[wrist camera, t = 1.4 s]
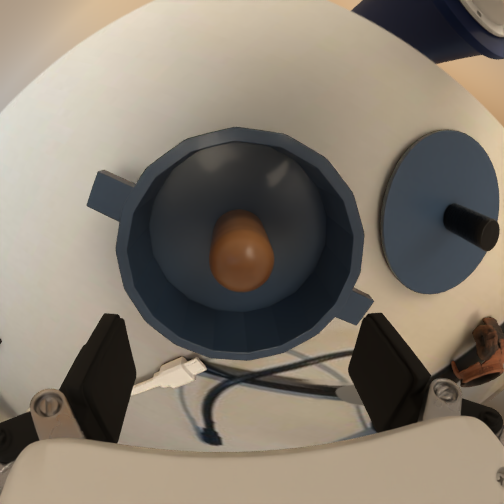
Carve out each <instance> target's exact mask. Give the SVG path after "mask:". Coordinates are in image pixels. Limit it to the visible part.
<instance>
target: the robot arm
mask: <svg viewBox="0 0 504 504" xmlns="http://www.w3.org/2000/svg"><path fill="white" fill-rule="evenodd" d="M459 1H460V3H461V4H462V5H463V7H464V8H465V9H466V10H467V12H468V13H469V14H470V15H471V16H472V17H473V19H474V20H475V21H476V22H477V23H478V24H479V25H480V26H482V27H483V28H484V29H485V30H487V31H488V32H489V33H491V34H493V35H494V36H497V37H504V0H459ZM348 372H349V375H350V377H351V379H352V381H353V383H354V385H355V388H356V389H357V392H358V394H359V396H360V398H361V400H362V402H363V404H364V406H365V408H366V410H367V413H368V415H369V417H370V419H371V421H372V423H373V425H374V427H375V430H376V431H377V433H376V434H372V435H368V436H363V437H359V438H354V439H349V440H344V441H339V442H333V443H327V444H321V445H314V446H307V447H299V448H291V449H280V450H268V451H251V452H193V451H176V450H164V449H154V448H145V447H136V446H129V445H122V444H116V443H117V442H118V440H119V436H120V432H121V429H122V425H123V421H124V417H125V414H126V410H127V406H128V403H129V399H130V396H131V392H132V389H133V386H134V382H135V379H136V368H135V364H134V360H133V356H132V352H131V348H130V344H129V340H128V335H127V331H126V326H125V321H124V319H123V318H120V316H119V315H118V314H106V313H105V314H104V315H103V316H102V318H101V319H100V321H99V323H98V324H97V326H96V328H95V329H94V331H93V333H92V335H91V336H90V338H89V340H88V342H87V343H86V345H84V346H83V347H82V349H81V350H80V352H79V354H78V356H77V357H76V359H75V361H74V363H73V365H72V366H71V368H70V370H69V372H68V374H67V376H66V378H65V380H64V382H63V383H62V385H61V387H60V389H59V390H56V389H45V390H42V391H40V392H38V393H37V394H36V395H34V397H33V398H32V400H31V402H30V411H29V412H27V413H24V414H22V415H19V416H17V417H14V418H12V419H9V420H7V421H4V422H2V423H0V504H504V425H503V420H502V417H501V415H500V414H499V413H498V412H497V411H496V410H495V409H492V408H490V407H487V406H484V405H481V404H478V403H475V402H472V401H469V400H466V399H463V398H462V391H461V389H460V387H459V386H458V385H457V384H456V383H455V382H453V381H452V380H449V379H445V378H438V379H435V380H434V381H433V382H432V381H431V380H430V377H431V375H430V373H429V372H428V371H427V369H426V368H425V367H424V365H423V364H422V363H421V361H420V360H419V359H418V357H417V356H416V355H415V354H414V352H413V351H412V350H411V348H410V347H409V346H408V345H407V343H406V342H405V341H404V340H403V338H402V337H401V336H400V335H399V333H398V332H397V331H396V330H395V328H394V327H393V326H392V325H391V323H390V322H389V321H388V320H387V318H386V317H385V316H384V315H383V314H382V313H371V314H368V315H367V316H366V317H365V318H363V320H362V324H361V327H360V331H359V334H358V338H357V341H356V344H355V348H354V351H353V354H352V357H351V360H350V364H349V367H348Z"/></svg>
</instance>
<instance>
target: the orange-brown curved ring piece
mask: <svg viewBox="0 0 504 504" xmlns="http://www.w3.org/2000/svg"><path fill="white" fill-rule="evenodd" d="M483 322H484V323H485V325H479V326H478V327H477V328H476V329H475V330H474V331H473V333H472V334H473V335H474V339H475V342H476V348H477V354H478V356H479V357H480V359H481V360H482V361H484V360H485V361H484V362H483V363H482V364H481V363H480V362H477V363H476V364H474V365H472V366H470V367H469V368H468V369H465V370H462V371H461V372H460V371H459V370H458V369H457V367H456V364H455V362H454V361H452V362H451V365H452V369H453V372H454V374H455V375H456V376H457V377H458V378H459V379H460V381H461V385H460V386H461V387H472V386H477V385H481V384H484V383H486V382H489V381H491V380H493V379H495V378H497V377H498V376H500V375H501V374H502V373H503V371H504V369H503V363H504V335H503V332H502V329H501V328H500V326H499V325H498V323H497V321H496V319H494V318H491V317H489V318H484V319H483ZM498 346H499V347H498Z"/></svg>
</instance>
